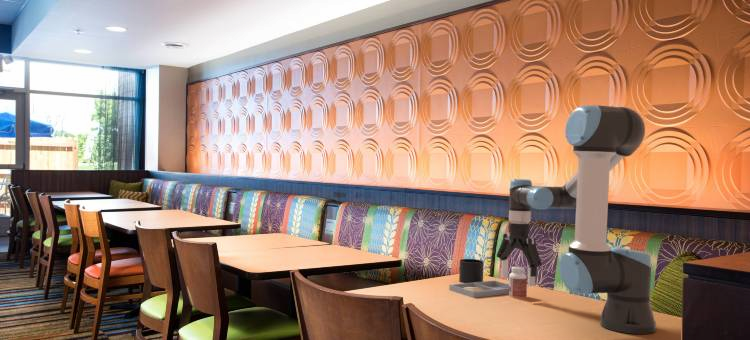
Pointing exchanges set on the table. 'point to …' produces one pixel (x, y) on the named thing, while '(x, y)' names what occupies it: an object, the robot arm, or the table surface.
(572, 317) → the table surface
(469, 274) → the mug
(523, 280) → the pill bottle
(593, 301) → the table surface
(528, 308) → the table surface
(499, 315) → the table surface
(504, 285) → the caddy
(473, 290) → the coaster
